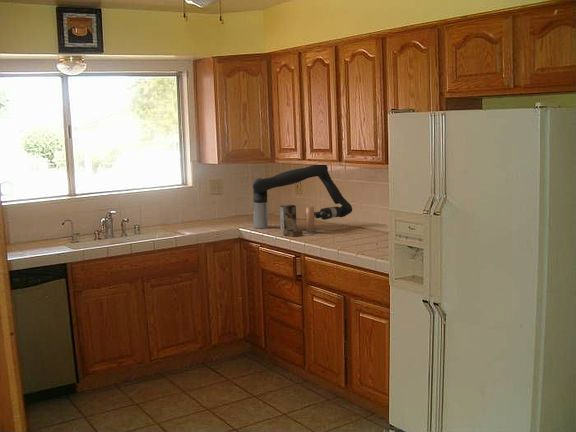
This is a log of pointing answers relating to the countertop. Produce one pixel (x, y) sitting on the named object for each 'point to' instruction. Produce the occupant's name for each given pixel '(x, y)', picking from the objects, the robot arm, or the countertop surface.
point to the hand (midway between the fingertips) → (311, 216)
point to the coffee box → (288, 217)
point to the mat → (311, 233)
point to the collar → (292, 232)
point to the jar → (310, 219)
